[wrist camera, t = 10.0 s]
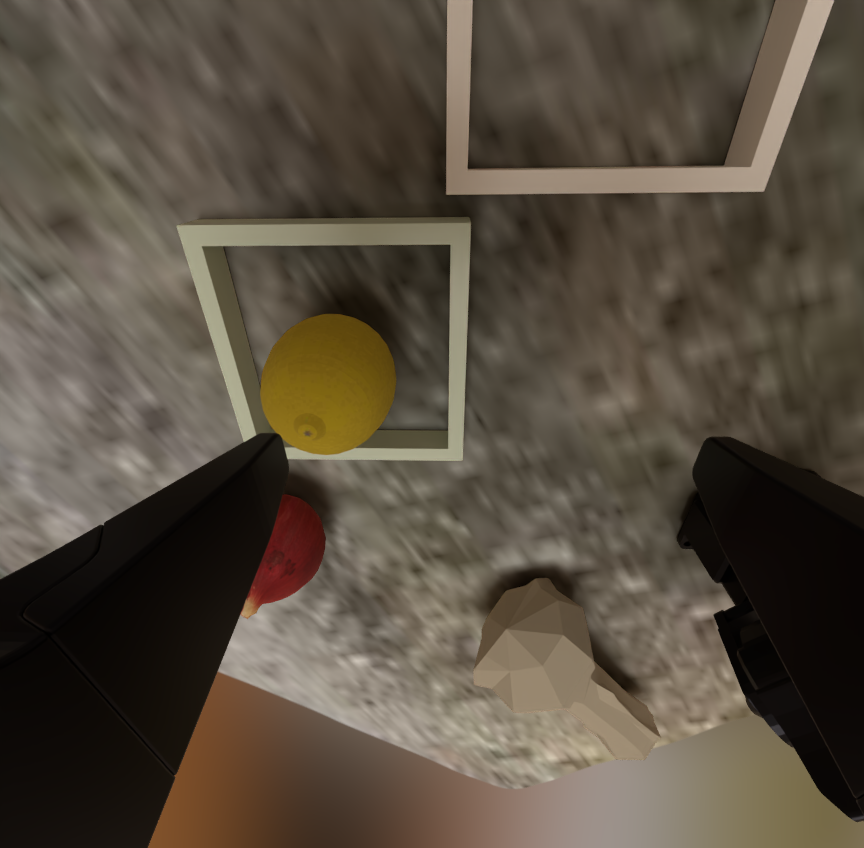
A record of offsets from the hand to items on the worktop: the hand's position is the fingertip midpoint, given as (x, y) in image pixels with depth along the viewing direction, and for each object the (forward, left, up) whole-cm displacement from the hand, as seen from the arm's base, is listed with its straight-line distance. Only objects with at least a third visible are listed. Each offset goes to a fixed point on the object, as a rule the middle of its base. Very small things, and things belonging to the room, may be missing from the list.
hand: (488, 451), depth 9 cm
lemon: (+6, +3, -13) cm, 15 cm away
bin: (+6, +3, -13) cm, 15 cm away
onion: (+11, +14, -13) cm, 22 cm away
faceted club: (-10, +31, -13) cm, 35 cm away
